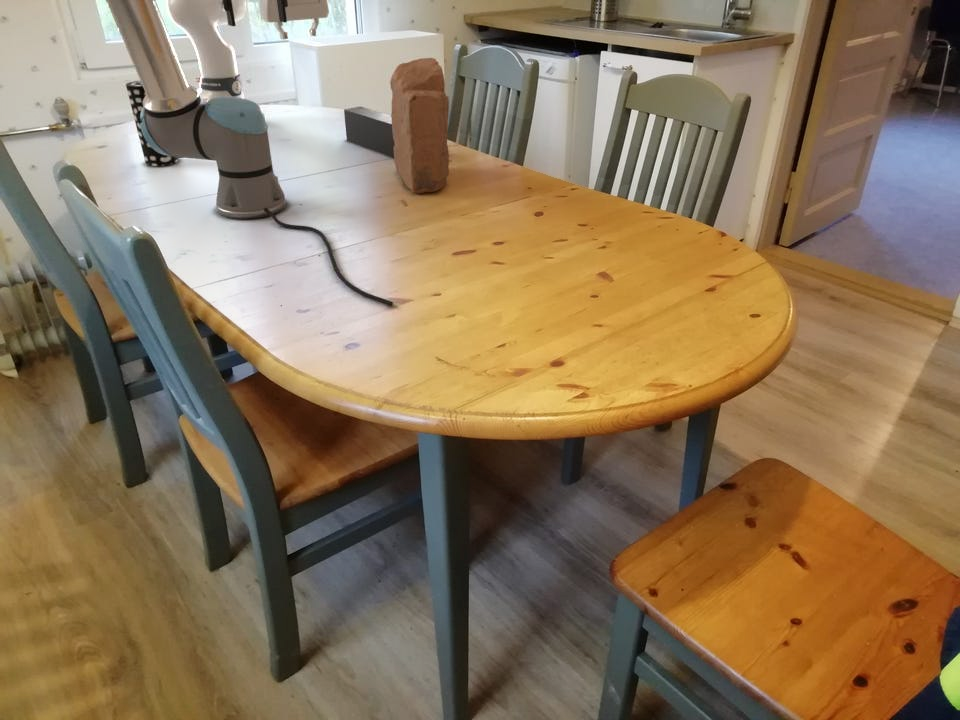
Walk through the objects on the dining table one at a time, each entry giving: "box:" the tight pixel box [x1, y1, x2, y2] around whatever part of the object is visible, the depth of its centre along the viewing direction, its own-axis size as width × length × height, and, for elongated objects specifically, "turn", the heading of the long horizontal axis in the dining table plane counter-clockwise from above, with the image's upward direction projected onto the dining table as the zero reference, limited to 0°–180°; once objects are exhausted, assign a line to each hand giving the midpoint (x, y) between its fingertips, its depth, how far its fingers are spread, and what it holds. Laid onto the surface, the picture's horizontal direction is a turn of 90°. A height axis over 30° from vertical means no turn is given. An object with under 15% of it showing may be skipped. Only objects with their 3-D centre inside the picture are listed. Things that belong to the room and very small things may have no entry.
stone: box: [389, 57, 450, 194], centre depth 168 cm, size 22×11×28 cm, turn 18°
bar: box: [343, 106, 395, 159], centre depth 197 cm, size 27×6×9 cm, turn 44°
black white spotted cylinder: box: [125, 80, 179, 167], centre depth 181 cm, size 8×8×20 cm
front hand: (258, 23), depth 173 cm, fingers open, 13 cm apart
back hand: (298, 37), depth 198 cm, fingers open, 8 cm apart
